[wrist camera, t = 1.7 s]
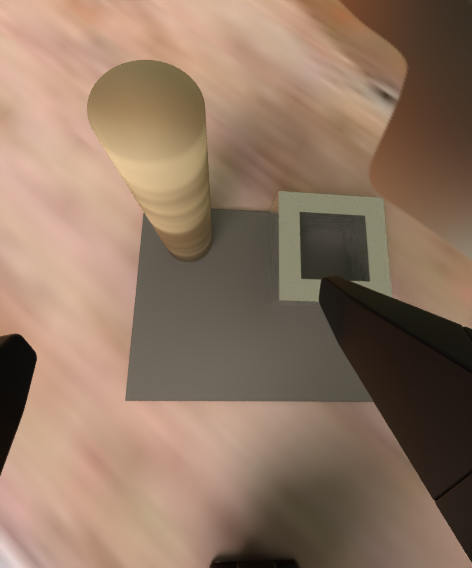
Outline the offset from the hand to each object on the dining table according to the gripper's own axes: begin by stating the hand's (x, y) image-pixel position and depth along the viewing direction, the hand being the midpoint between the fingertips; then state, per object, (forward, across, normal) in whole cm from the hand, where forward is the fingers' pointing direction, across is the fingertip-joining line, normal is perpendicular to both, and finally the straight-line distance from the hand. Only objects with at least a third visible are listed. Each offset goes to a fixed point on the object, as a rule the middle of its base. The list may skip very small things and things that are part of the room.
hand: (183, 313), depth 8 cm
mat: (+10, -5, +9) cm, 14 cm away
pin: (+14, 0, +4) cm, 15 cm away
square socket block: (+12, -11, +6) cm, 17 cm away
